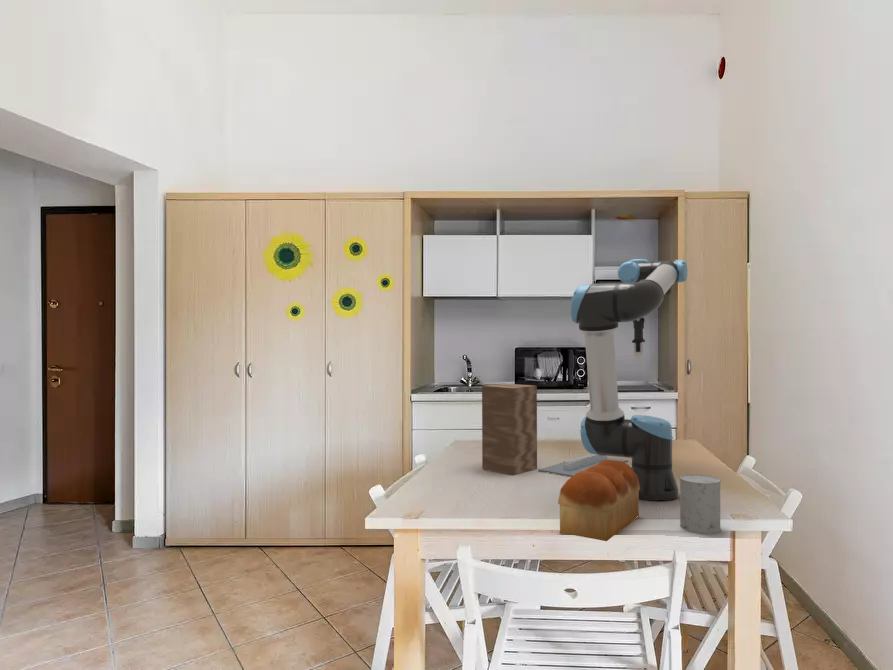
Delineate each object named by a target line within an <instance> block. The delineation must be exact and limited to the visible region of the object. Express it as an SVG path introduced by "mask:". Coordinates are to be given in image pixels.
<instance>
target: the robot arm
mask: <svg viewBox="0 0 893 670" xmlns="http://www.w3.org/2000/svg"><path fill="white" fill-rule="evenodd" d="M617 276H618V277H617V278H618V279H619V280H620V281H621V282H607V283H603V282H602V283H588V284H581V285H579V286H578V287H576V289H575V290H574V292H573V294H572V297H571V302H570V318H571V321H572V322H573V323H574V324H578V330H579V331H580V332H581V333H582V334H583V335H584V343H585V355H586V366H587V367H586V370H587V381H588V383H587V384H588V393H589V405H590V406H589V407H590V409H589V410H587V411H586V413H585V417H583V418H582V420H581V423H580V431H579V432H580V437H581V438H580V439H581V442H582V446H583V448H584V449H585V451H586V452H587V453H588V454H597V455H600V456H604V455H605V456H607V457H617V458H618V457H619V458H629V459H631V468H632V469H633V470H634V472H635V473H636V474H637V476H638V480H639V485H640V490H639V500H644V499H645V500H646V501H655V500H664V501H671V499H673V500H675V498H676V499H678V498H679V487H678V484H677V481H676V477H675V475H674V472H673V437H674V436H673V432H672V431H673V429H672V428H673V427H672V424H671V423H670V421H668V420H666V419H663V418H661V417H660V418H659V417H656V416H651V415H643V414H635V415H632V416H631V418H630V419H629V418H627V419H626V418H625V411H624V410H623V409H622V408H620V407H619V406H620V405H619V392H618V379H617V378H618V377H617V365H616V363H617V361H616V350H615V349H616V348H615V336H614V335H615V334H614V333H615V332H616V331H617V329H618V328H619V323H628V322H632V323H633V326H632V327H633V329H634V331H633V332H634V335H633V336H634V337H633V339H632V341H631V343H633V357H634V358H633V361H634V362H643V360H644V343H645V342H646V339H644V329H645V317H646V316H649V315H650V314H652V313H653V312H656V310H657V309H659V307H660V306H661V305H662V303H663V301H664V299H665V295H666V293H667V292H668V291H669V289H671V287H672V286H673V285H674V284H675V283H676V284H677V283H682V282H683V283H685V282H686V281H687V279H688V264H687V261H685V260H684V259H673V260H658V261H655V260H654V261H653V260H652V261H649V260H648V259H646V258H644V259H643V258H638V259H637V258H636V259H630V260H629V261H625V262H623V263H622V264H621V265H620V266H619V267H618V269H617ZM677 497H678V498H677Z"/></svg>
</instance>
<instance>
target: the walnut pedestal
mask: <svg viewBox="0 0 893 670" xmlns="http://www.w3.org/2000/svg"><path fill="white" fill-rule="evenodd" d="M481 411H482V412H481V420H482V421H481V422H482V425H481V429H482V430H481V438H482V439H481V440H482V441H481V442H482V443H481V447H482V449H481V450H482V451H481V452H482V456H481V457H482V458H481V459H482V461H481V462H482V463H481V464H482V466H481V467H482V468H481V469H483V470H484V471H490V472H493V473H494V472H495V473H500V474H504V475H509V474H510V475H511V476H517V475H520V474H524V473H527V472H531V471H534V470H533V469H535V470H538V386H537V385H534V384H533V385H532V384H521V383H520V384H517V383H516V384H515V383H499V384H489V385H481ZM530 470H531V471H530ZM523 472H524V473H523ZM516 474H517V475H516Z"/></svg>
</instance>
